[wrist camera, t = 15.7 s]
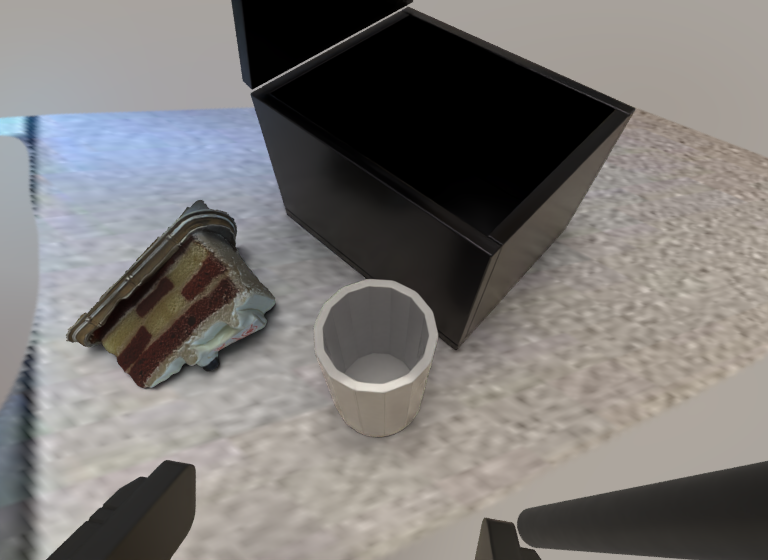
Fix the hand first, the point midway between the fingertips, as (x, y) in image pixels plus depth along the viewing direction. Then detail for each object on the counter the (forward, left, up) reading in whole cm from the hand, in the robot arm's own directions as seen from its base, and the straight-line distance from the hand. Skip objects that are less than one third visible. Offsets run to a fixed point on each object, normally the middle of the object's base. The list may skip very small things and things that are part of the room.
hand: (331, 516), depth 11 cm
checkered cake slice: (+15, -1, -12) cm, 19 cm away
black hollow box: (+10, -18, -11) cm, 24 cm away
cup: (+4, -6, -11) cm, 13 cm away
